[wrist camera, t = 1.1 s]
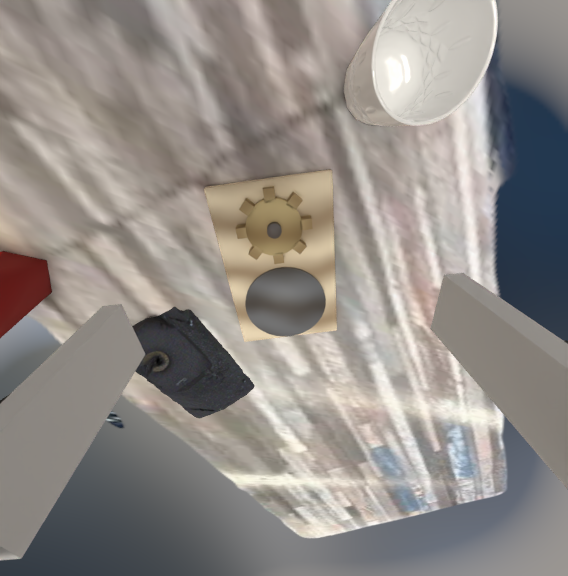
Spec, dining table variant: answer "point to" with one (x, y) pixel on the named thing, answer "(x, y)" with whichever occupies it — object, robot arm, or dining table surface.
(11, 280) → the french fries
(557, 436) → the robot arm
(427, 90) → the white cup
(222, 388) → the dark slate chunk
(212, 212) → the gear board
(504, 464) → the dining table surface
